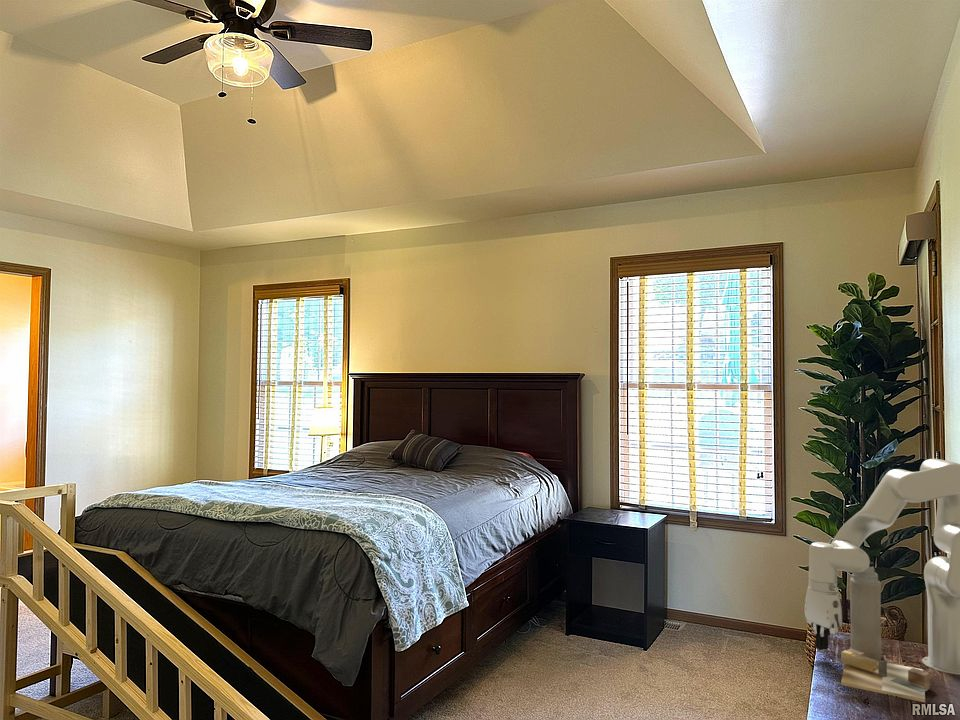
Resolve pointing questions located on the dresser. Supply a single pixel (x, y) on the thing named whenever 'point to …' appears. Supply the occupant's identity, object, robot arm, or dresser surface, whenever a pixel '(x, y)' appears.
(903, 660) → the dresser surface
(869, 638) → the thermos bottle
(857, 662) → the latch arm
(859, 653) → the door board
